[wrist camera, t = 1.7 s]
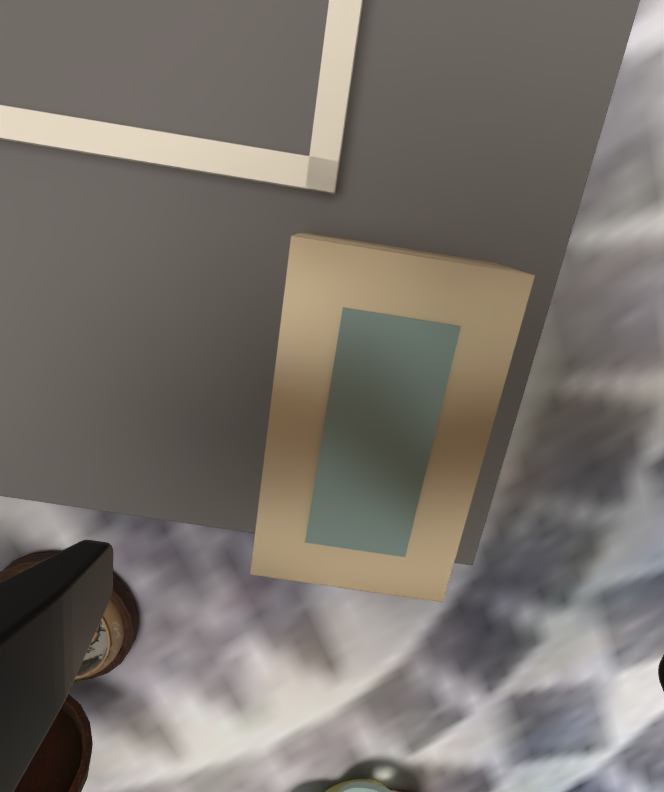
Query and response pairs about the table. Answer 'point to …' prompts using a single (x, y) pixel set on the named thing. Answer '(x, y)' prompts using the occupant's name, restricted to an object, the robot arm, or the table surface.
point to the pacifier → (359, 786)
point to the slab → (381, 412)
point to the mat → (257, 211)
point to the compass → (70, 731)
